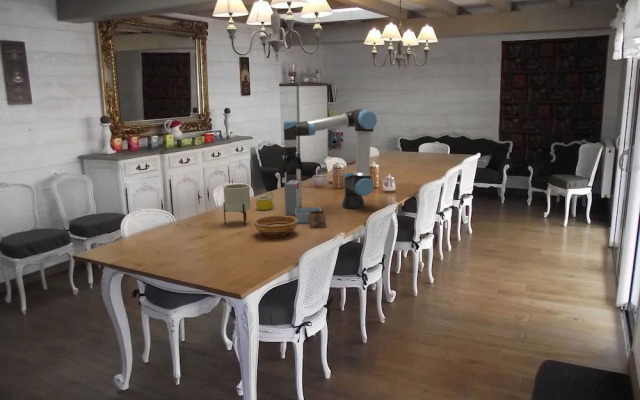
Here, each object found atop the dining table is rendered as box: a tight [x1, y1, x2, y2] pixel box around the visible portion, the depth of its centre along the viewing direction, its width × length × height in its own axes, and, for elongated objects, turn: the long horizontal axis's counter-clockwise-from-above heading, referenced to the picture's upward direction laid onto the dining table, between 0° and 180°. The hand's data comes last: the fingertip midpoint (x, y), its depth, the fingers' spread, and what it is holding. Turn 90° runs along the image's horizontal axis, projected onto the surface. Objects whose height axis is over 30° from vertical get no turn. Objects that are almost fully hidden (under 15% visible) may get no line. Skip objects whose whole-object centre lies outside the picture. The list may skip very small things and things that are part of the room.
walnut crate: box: [309, 210, 326, 229], centre depth 313 cm, size 9×9×8 cm
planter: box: [223, 183, 251, 227], centre depth 321 cm, size 15×16×23 cm
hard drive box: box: [284, 179, 303, 216], centre depth 347 cm, size 16×8×20 cm, turn 168°
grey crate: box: [294, 207, 322, 225], centre depth 327 cm, size 16×16×6 cm
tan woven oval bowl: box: [253, 215, 298, 238], centre depth 297 cm, size 30×24×8 cm
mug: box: [255, 191, 275, 211], centre depth 358 cm, size 13×11×12 cm
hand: (291, 181), depth 328 cm, fingers open, 13 cm apart
